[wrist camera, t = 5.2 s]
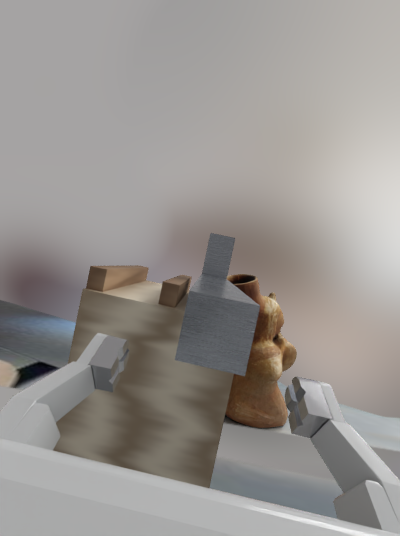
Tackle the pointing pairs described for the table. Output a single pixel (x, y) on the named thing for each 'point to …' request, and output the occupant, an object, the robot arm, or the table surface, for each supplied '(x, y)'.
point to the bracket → (217, 316)
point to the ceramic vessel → (261, 364)
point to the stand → (145, 382)
